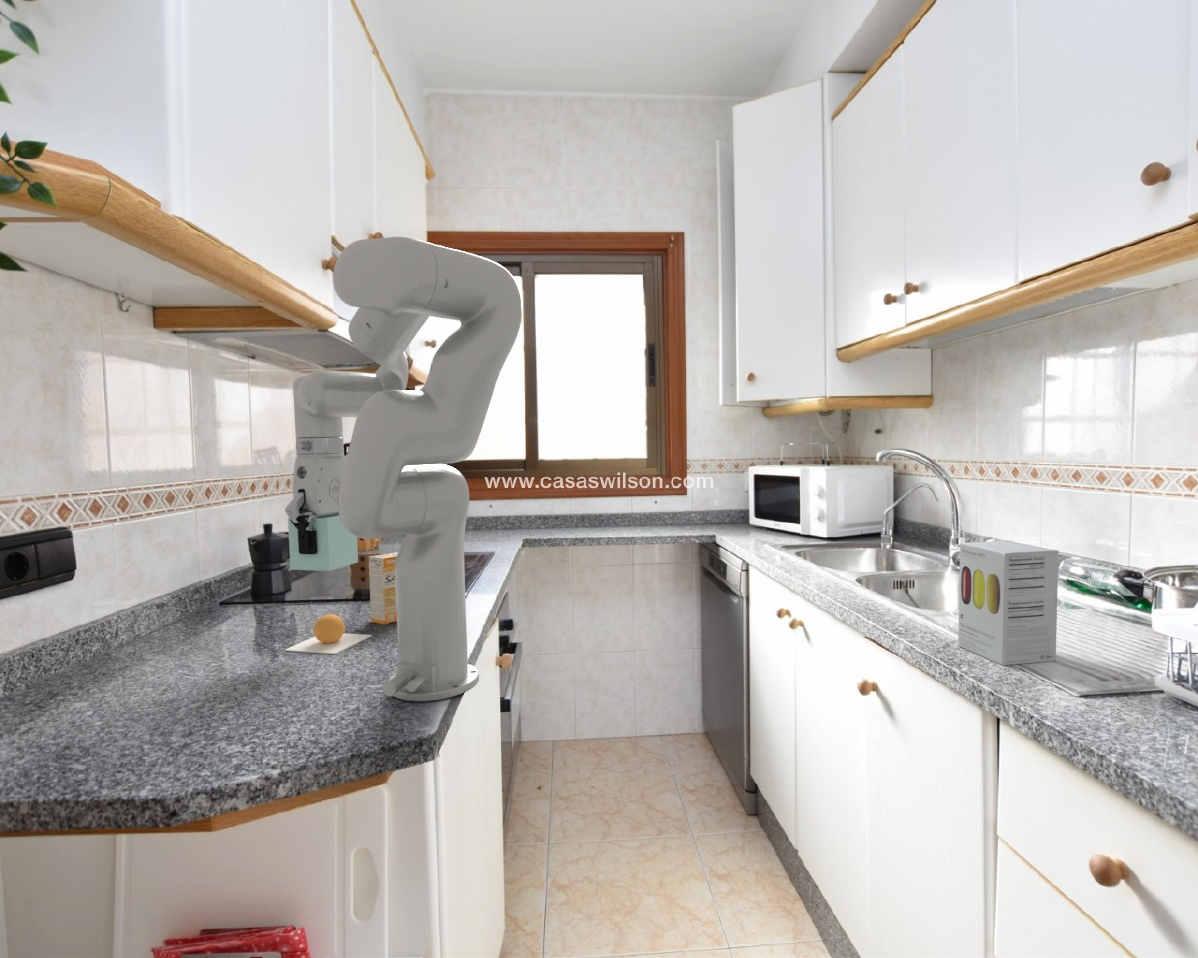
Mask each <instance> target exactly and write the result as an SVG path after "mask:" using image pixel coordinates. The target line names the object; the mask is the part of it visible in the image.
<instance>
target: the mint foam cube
mask: <svg viewBox="0 0 1198 958" xmlns="http://www.w3.org/2000/svg"><path fill="white" fill-rule="evenodd" d="M305 519H306V521H307V522H308V519H309V518H305ZM287 524H288V527H287V528H288V546H289V566H290V567H289V570H292V571H293V570H294V571H295V570H296V571H315V572H316V571H317V572H319V571H322V572H331V571H334V570H337V569H341V568H345V567H346V566H351V565H353V564H357V563H359V555H358V554H359V553H358V552H359V550H358V537H355V536H353V535H352V534H350V533H349V532H348V531H347V530H346V529H345V528H344V526H343V524H342V522H341V519H340V515H339V513H335V514H329V515H318V517H317V518H315V525H314V528H313V530H316V537H317V553H316V554H300V553H299V546H298V531H296V530H295V526H294V525H293V524H292V523H291V521H290V518H289V517H288V518H287Z"/></svg>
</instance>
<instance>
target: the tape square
mask: <svg viewBox="0 0 1198 958" xmlns="http://www.w3.org/2000/svg"><path fill="white" fill-rule="evenodd" d="M370 637H372V634H360V633H346V632H344V634H343V635H342V637H341V638H340V639H339V640H338V641H336V642H334V643H328V644H326V643H322V642H320V641H319V640H318V639H317V638H316V637H315V635H314V636H313V637H312V636H311V637H310V638H308V639H306V640H303V641H301V642H298V643H297V644H294V645H292V646H290V647H288V648H286V649H284V651H285V652H295V653H296V652H298V653H311V654H324V655H325V654H326V655H337V654H339V653H341V652H343V651H345V650H348V649H349V648H351V647H354V646H356V645H357V644H359V643H361V642H363V641H365V640H367V639H369V638H370Z"/></svg>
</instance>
